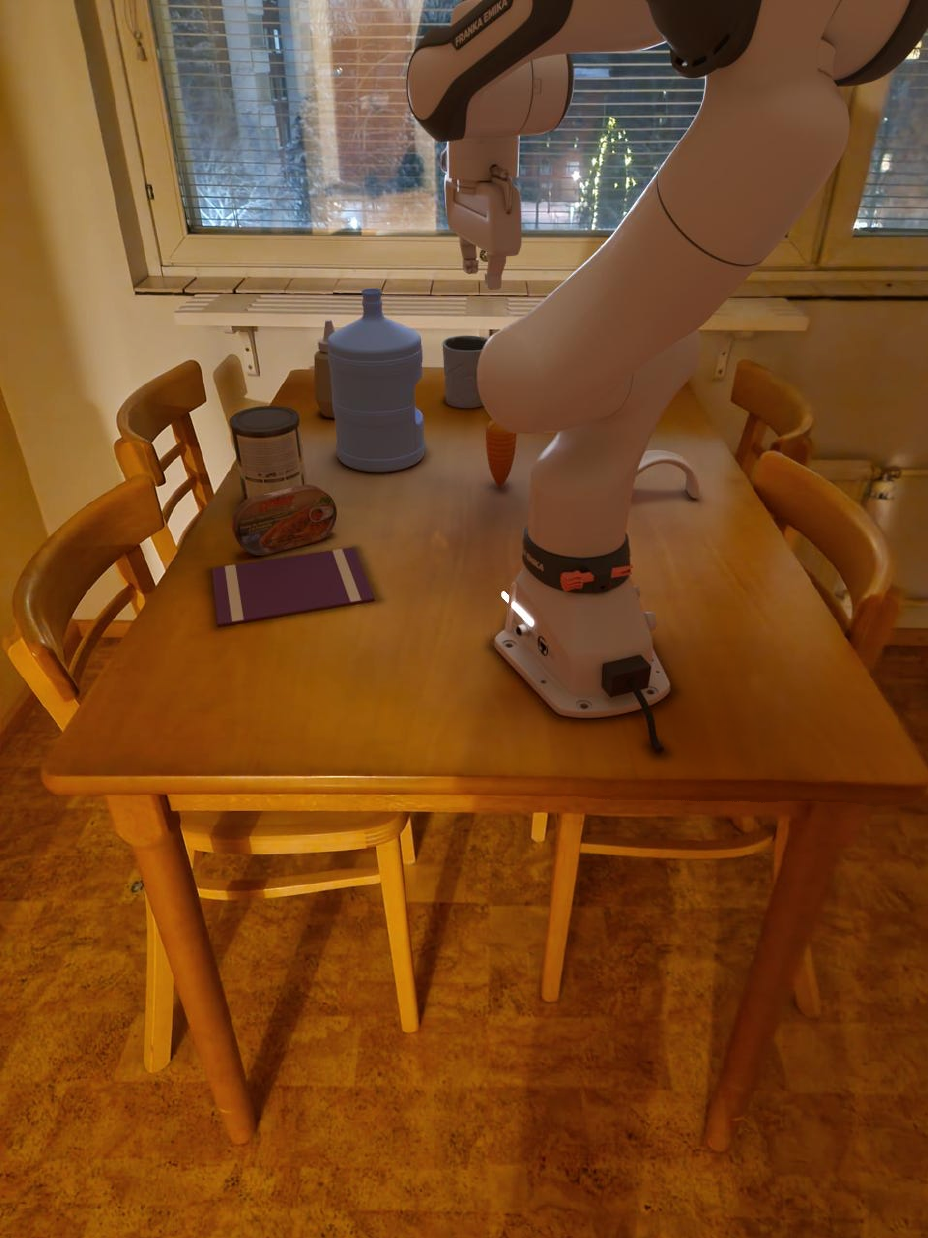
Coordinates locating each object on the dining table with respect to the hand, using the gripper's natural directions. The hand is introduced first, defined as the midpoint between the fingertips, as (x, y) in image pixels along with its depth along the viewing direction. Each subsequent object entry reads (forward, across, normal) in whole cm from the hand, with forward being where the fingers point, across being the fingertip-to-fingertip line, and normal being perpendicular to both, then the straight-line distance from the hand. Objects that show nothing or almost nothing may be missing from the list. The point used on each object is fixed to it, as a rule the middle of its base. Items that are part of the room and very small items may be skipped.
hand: (481, 280), depth 108 cm
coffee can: (+34, +12, +30) cm, 47 cm away
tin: (+34, -2, +30) cm, 46 cm away
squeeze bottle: (+34, +48, +14) cm, 61 cm away
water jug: (+34, +25, +10) cm, 44 cm away
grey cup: (+34, +47, -13) cm, 60 cm away
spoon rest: (+34, -2, -24) cm, 42 cm away
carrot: (+34, +7, -6) cm, 36 cm away
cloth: (+34, -14, +31) cm, 48 cm away
